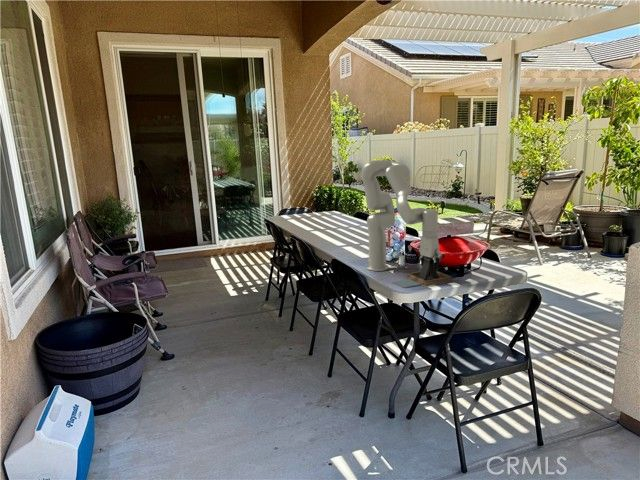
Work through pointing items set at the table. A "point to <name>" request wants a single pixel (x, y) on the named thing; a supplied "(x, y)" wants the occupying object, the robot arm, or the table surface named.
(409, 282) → the rubber mat
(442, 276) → the pocket block
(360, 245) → the table surface
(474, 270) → the table surface
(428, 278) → the door stopper
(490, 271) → the table surface
